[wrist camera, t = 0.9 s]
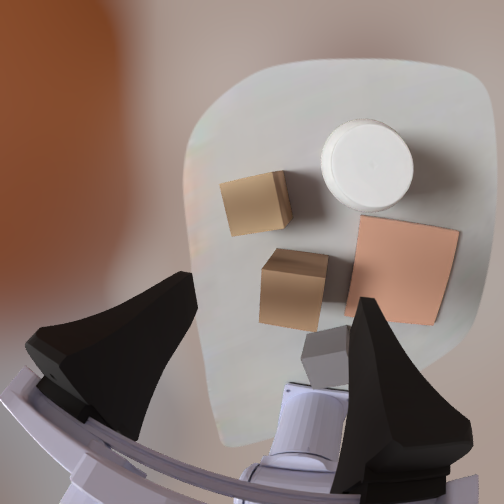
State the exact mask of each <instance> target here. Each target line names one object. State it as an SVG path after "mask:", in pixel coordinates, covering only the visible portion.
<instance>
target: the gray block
mask: <svg viewBox="0 0 504 504" xmlns="http://www.w3.org/2000/svg"><path fill="white" fill-rule="evenodd" d="M349 339H350V335H349V332H348V328H347V325H345V326H341V327H336V328H332V329H328V330H323V331H319V332H314V333H309V334H307V336H306V340H305V344H304V348H303V352H302V355H301V361H302V364H303V366H304V369H305V371H306V374H307V376H308V379H309V381H310V384H311V386H312V389H313V390H315V389H322V388H328V387H334V386H340V385H346V384H349V368H348V351H349Z"/></svg>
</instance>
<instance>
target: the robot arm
mask: <svg viewBox="0 0 504 504" xmlns="http://www.w3.org/2000/svg"><path fill="white" fill-rule="evenodd" d="M197 310H198V305H197V299H196V294H195V288H194V282H193V276H192V273H188V272H182V271H180V272H177V273H175V274H173V275H172V276H170V277H168V278H166V279H165V280H163V281H161V282H160V283H158V284H156V285H155V286H153V287H151V288H149V289H148V290H146V291H144V292H143V293H141V294H139V295H137V296H135V297H133V298H132V299H129V300H128V301H126V302H124V303H122V304H120V305H118V306H116V307H114V308H111V309H109V310H106V311H104V312H101V313H99V314H96V315H93V316H90V317H87V318H84V319H81V320H77V321H74V322H69V323H65V324H60V325H54V326H47V327H41V328H39V329H38V330H37V331H36V333H35V334H34V335H33V336H32V337H31V338H30V339H29V340H28V341H27V342H26V343H25V348H26V350H27V352H28V354H29V355H30V357H31V358H32V360H33V361H34V362H35V364H36V365H37V366H38V368H39V369H40V370H41V372H42V373H43V374H44V377H43V378H42V379H41V378H40V377H39V376H38V375H36V374H35V373H34V372H33V371H32V370H31V369H29V368H28V367H27V366H24V367H23V368H22V369H21V371H20V372H19V373H18V374H17V375H16V377H15V378H14V379H13V380H12V381H11V383H10V384H9V385H8V386H7V388H6V389H5V390H4V391H3V393H2V394H1V395H0V401H1V402H2V403H3V404H4V406H5V407H6V408H7V409H8V410H9V411H10V413H11V414H12V415H13V416H14V417H15V418H16V420H17V421H18V422H19V423H20V424H21V425H22V426H23V427H24V429H25V430H26V431H27V432H28V433H29V434H30V435H31V436H32V437H33V438H34V440H35V441H36V442H37V443H38V444H39V445H40V446H41V447H42V448H43V449H44V450H45V451H46V452H47V453H48V454H49V455H51V456H52V457H53V458H54V459H55V460H56V461H57V462H58V463H59V464H60V465H61V466H63V467H64V468H65V469H66V470H67V471H69V472H70V473H71V475H70V480H71V484H70V486H69V488H68V489H67V491H66V492H65V494H64V496H63V498H62V499H61V501H60V503H59V504H207V503H204V502H201V501H198V500H196V499H193V498H190V497H188V496H185V495H182V494H180V493H177V492H174V491H172V490H170V489H168V488H165V487H162V486H160V485H158V484H156V483H154V482H152V481H149V480H147V479H145V478H146V476H147V475H146V473H144V472H143V471H141V470H139V469H138V468H136V467H135V466H134V465H132V464H131V463H129V462H128V461H127V460H126V459H125V458H123V457H122V456H120V455H118V454H117V453H115V452H114V451H112V450H111V448H112V449H114V450H116V451H118V452H120V453H122V454H123V455H125V456H127V457H129V458H131V459H133V460H135V461H137V462H139V463H141V464H143V465H145V466H147V467H149V468H151V469H154V470H156V471H158V472H160V473H163V474H165V475H167V476H170V477H172V478H175V479H177V480H180V481H182V482H185V483H188V484H191V485H193V486H196V487H200V488H202V489H205V490H209V491H212V492H215V493H218V494H222V495H225V496H229V497H233V498H234V504H478V494H479V491H478V490H479V488H478V487H479V486H478V485H479V484H478V475H477V474H475V475H472V476H468V477H464V478H460V479H455V480H452V481H449V482H446V476H447V475H449V474H450V465H451V464H453V463H454V462H456V461H457V460H459V459H460V458H462V457H463V456H464V455H466V454H467V453H468V452H469V451H470V450H471V449H472V447H473V435H472V428H471V423H470V420H468V419H467V418H466V417H465V416H463V415H462V414H461V413H460V412H459V411H457V410H456V409H455V408H454V407H452V406H451V405H450V404H449V403H448V402H447V401H446V400H445V399H444V398H443V397H442V396H441V395H440V394H439V393H438V392H437V391H436V390H435V389H434V388H433V387H432V386H431V385H430V384H429V382H428V381H427V380H426V379H425V378H424V377H423V375H422V374H421V373H420V372H419V371H418V369H417V368H416V367H415V365H414V364H413V363H412V361H411V360H410V358H409V357H408V356H407V354H406V353H405V351H404V349H403V348H402V346H401V345H400V343H399V341H398V340H397V338H396V336H395V335H394V333H393V331H392V329H391V328H390V326H389V324H388V322H387V320H386V319H385V317H384V315H383V313H382V311H381V309H380V307H379V305H378V303H377V301H376V300H375V298H370V297H361V296H360V299H359V302H358V306H357V310H356V313H355V317H354V320H353V324H352V327H351V331H350V339H349V351H348V368H349V392H346V391H337V390H330V389H323V388H322V389H315V390H313V389H312V387H310V386H304V385H298V384H292V383H287V384H286V385H285V388H284V394H283V400H282V406H281V412H280V417H279V423H278V429H277V432H276V435H275V438H274V441H273V444H272V447H271V449H270V452H269V455H268V456H263V457H262V460H261V463H260V464H258V463H253V464H251V465H250V466H249V467H247V468H246V469H245V470H244V471H243V473H242V474H241V476H240V478H239V480H238V479H235V478H231V477H227V476H223V475H220V474H216V473H213V472H210V471H207V470H204V469H201V468H198V467H194V466H192V465H189V464H186V463H184V462H181V461H178V460H176V459H173V458H171V457H168V456H166V455H163V454H161V453H159V452H156V451H154V450H152V449H150V448H147V447H145V446H143V445H141V444H139V443H137V442H135V441H137V440H138V437H139V433H140V430H141V427H142V423H143V420H144V417H145V414H146V411H147V408H148V406H149V403H150V400H151V398H152V395H153V393H154V390H155V388H156V386H157V383H158V381H159V379H160V377H161V375H162V372H163V370H164V369H165V367H166V365H167V363H168V361H169V360H170V358H171V357H172V355H173V353H174V352H175V350H176V349H177V347H178V345H179V344H180V342H181V341H182V339H183V337H184V336H185V334H186V332H187V331H188V329H189V327H190V326H191V323H192V321H193V319H194V317H195V314H196V312H197ZM288 389H289V390H288ZM346 415H347V419H346V426H345V432H344V437H343V443H342V448H341V452H340V457H339V451H340V443H341V435H342V426H343V422H344V420H345V417H346ZM110 447H111V448H110ZM338 459H339V461H338Z"/></svg>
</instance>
